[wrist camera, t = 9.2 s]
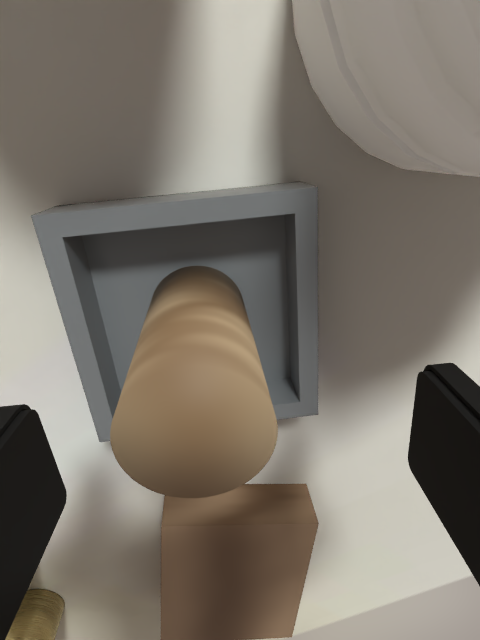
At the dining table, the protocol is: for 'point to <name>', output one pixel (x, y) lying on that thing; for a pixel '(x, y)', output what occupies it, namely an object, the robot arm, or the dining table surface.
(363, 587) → the dining table surface
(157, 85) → the dining table surface
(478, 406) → the robot arm
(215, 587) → the brown wooden brick
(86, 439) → the dining table surface
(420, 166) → the honey pot
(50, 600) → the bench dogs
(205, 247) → the tray
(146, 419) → the dowel
